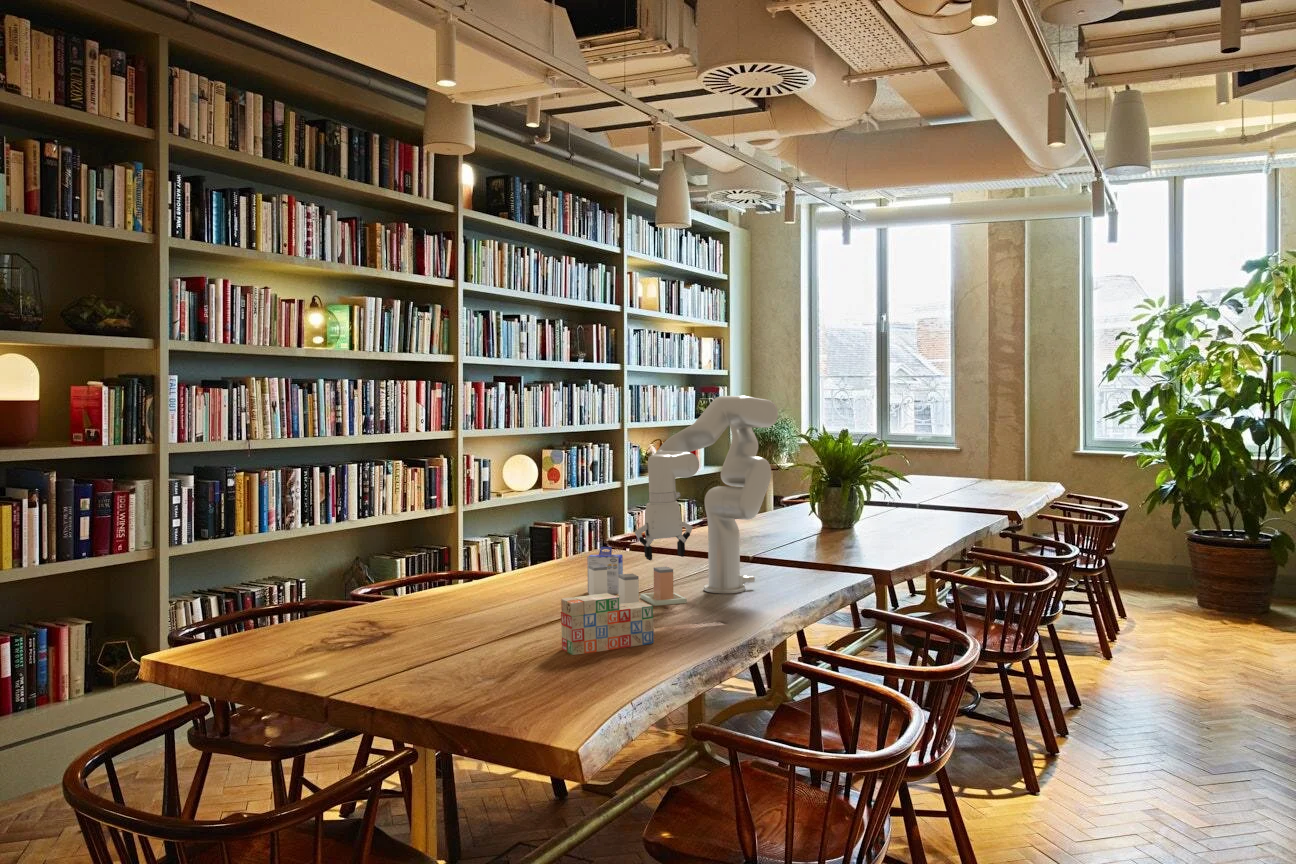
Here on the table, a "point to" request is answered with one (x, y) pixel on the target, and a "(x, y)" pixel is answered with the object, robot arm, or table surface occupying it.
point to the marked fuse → (663, 583)
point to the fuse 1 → (597, 579)
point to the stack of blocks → (604, 624)
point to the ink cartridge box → (608, 568)
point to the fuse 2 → (628, 588)
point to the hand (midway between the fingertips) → (665, 557)
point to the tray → (650, 596)
